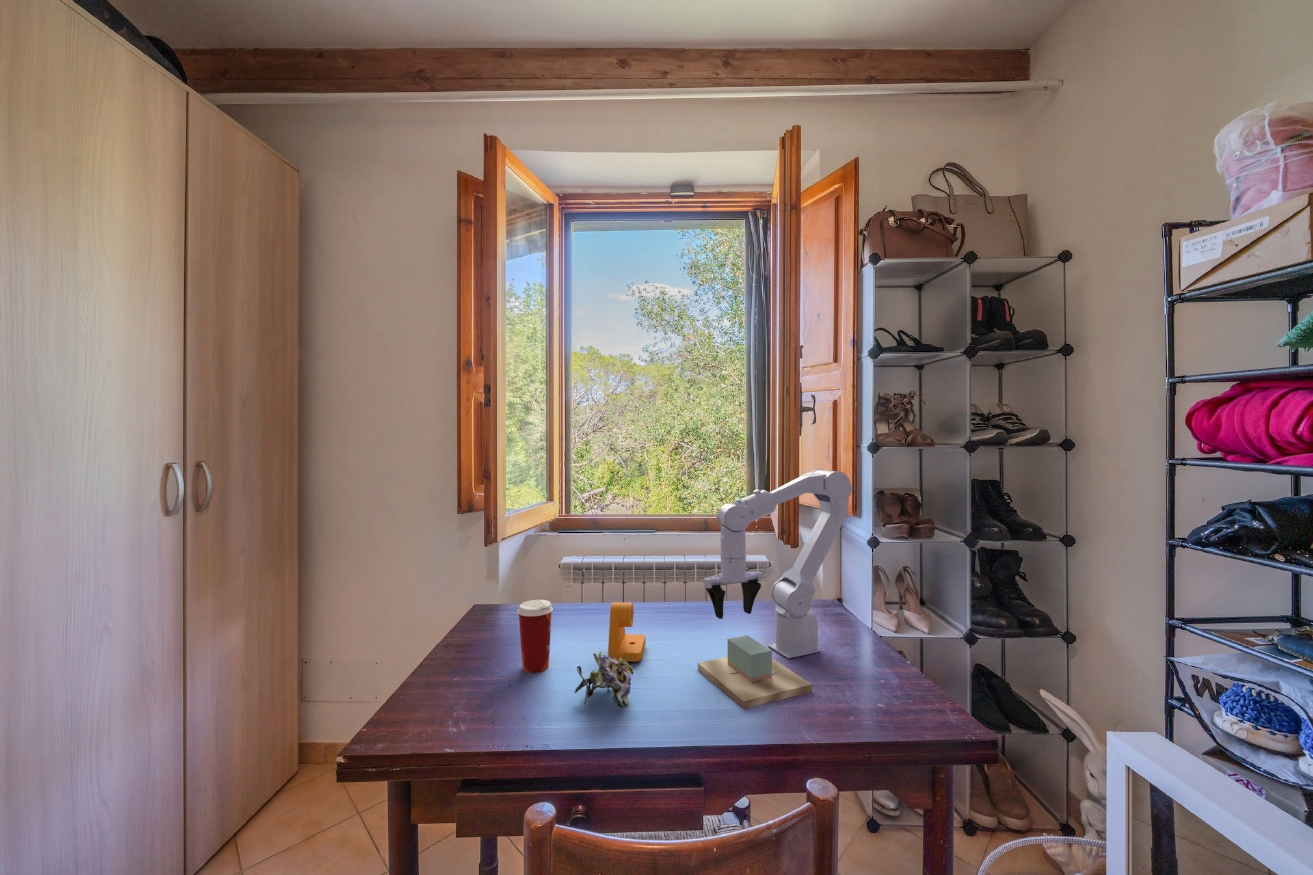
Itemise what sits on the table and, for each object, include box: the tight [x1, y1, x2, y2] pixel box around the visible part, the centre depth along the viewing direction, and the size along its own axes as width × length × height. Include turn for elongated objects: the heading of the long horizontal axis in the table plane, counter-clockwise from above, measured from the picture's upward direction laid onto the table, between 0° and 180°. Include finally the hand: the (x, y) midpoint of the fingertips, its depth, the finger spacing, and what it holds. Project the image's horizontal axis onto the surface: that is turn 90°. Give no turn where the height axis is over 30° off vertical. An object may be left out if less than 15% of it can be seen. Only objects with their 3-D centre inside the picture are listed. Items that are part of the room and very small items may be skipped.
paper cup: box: [517, 599, 554, 674], centre depth 116 cm, size 8×8×14 cm
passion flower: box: [574, 651, 634, 709], centre depth 101 cm, size 11×11×12 cm
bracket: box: [607, 601, 646, 662], centre depth 123 cm, size 11×7×12 cm, turn 174°
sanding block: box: [727, 634, 773, 682], centre depth 111 cm, size 5×9×6 cm, turn 24°
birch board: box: [697, 656, 813, 710], centre depth 110 cm, size 16×18×2 cm
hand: (733, 614), depth 122 cm, fingers open, 7 cm apart
